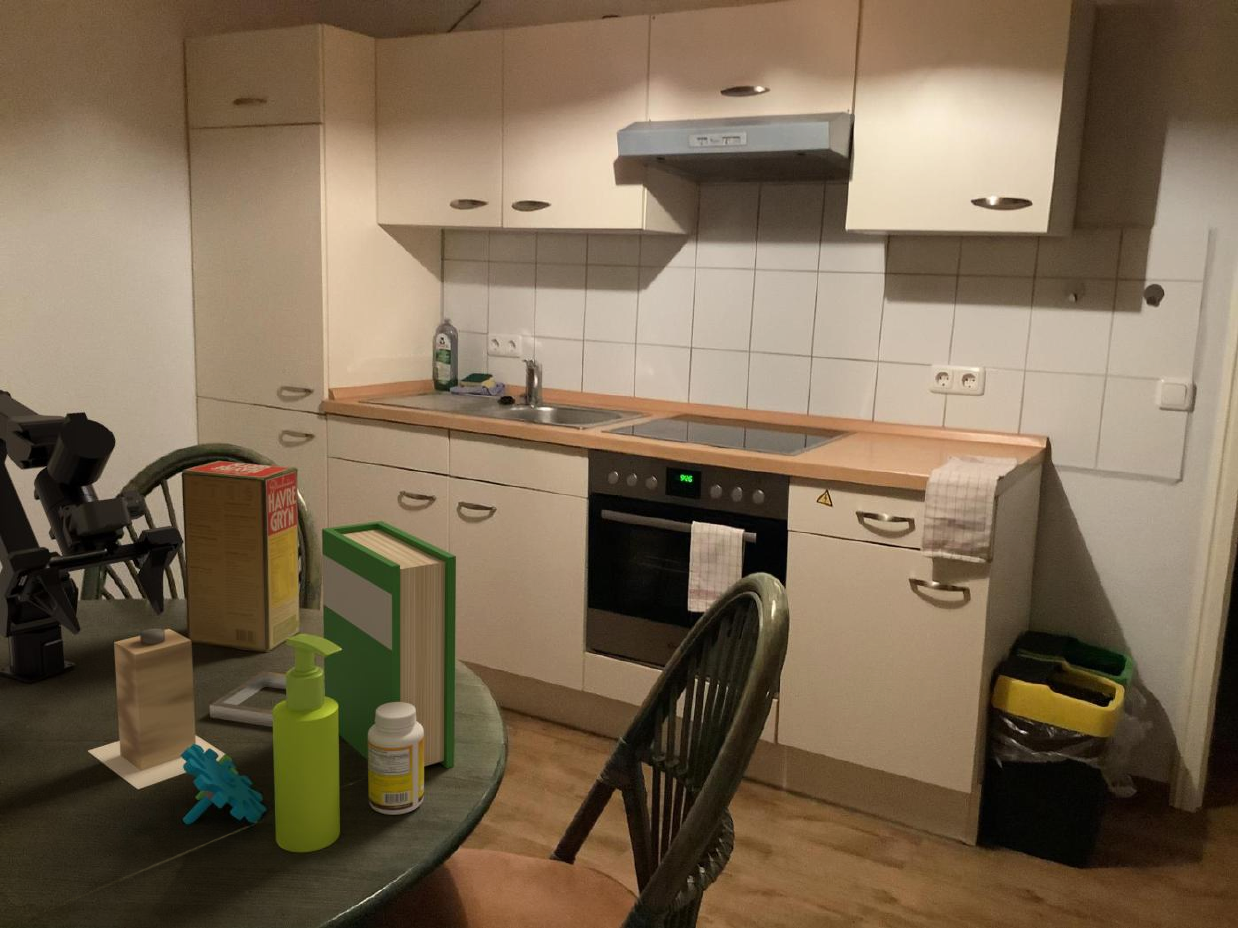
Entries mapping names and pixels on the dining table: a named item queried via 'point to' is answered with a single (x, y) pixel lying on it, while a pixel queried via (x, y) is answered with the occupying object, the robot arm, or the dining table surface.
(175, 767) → the beige flat slab
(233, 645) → the food packaging
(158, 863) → the dining table surface
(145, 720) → the block
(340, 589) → the hardback book
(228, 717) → the pocket
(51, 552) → the robot arm
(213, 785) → the gear
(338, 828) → the soap dispenser
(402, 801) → the supplement bottle
